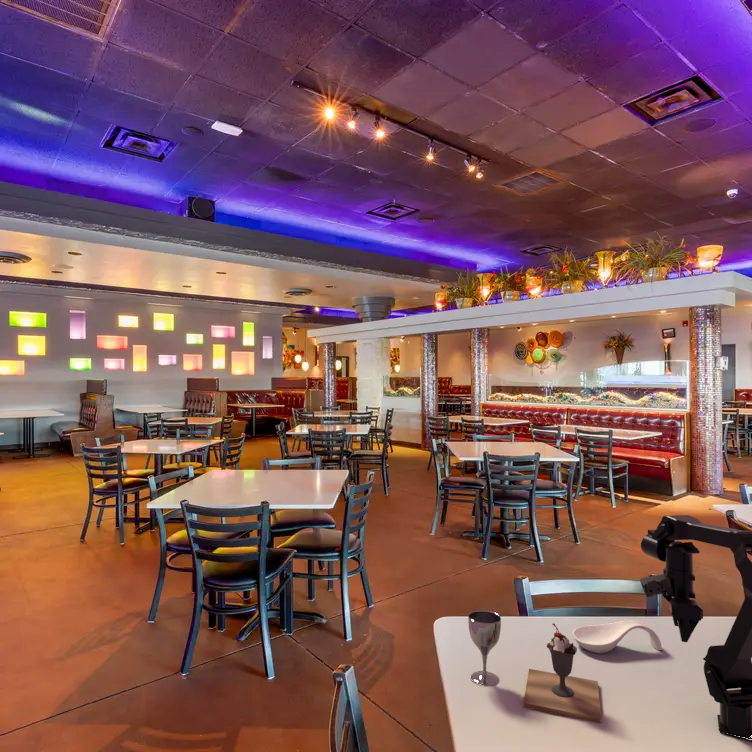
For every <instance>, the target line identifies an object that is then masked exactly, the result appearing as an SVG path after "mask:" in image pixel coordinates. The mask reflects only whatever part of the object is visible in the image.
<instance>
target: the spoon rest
mask: <svg viewBox="0 0 752 752" xmlns="http://www.w3.org/2000/svg"><path fill="white" fill-rule="evenodd" d="M635 629H641V630H643V631H646V632H647V634H649V640H650V645H651V646H652V647H653V648H654V649H656V650H657V651H659V650H662V651H663V647H662V643H661V640H660V637H659V636H658V635H657V633H656V631H654V630H653V629H652V628H651V627H649V626H648V625H647V624H645V623H644V622H641V621H639V620H633V619H632V620H631V619H629V620H620V621H615V622H610V623H603V624H601V623H600V624H592V625H583V626H579V627H576V628H575V629H574V630H572V637H573V640H575V642H576V643H577V644H578V646H580V647H581V648H583V649H585V650H587V651H589V652H592V653H596V654H606V653H608V652H610V651H611V650H613V649H614V648H615V647H616V646H617V645H618V644H619V643H620V641H621V640H623V638H624V637H625V636H626V635H627V634H628V633H629V632H631V631H632V630H635Z"/></svg>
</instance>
